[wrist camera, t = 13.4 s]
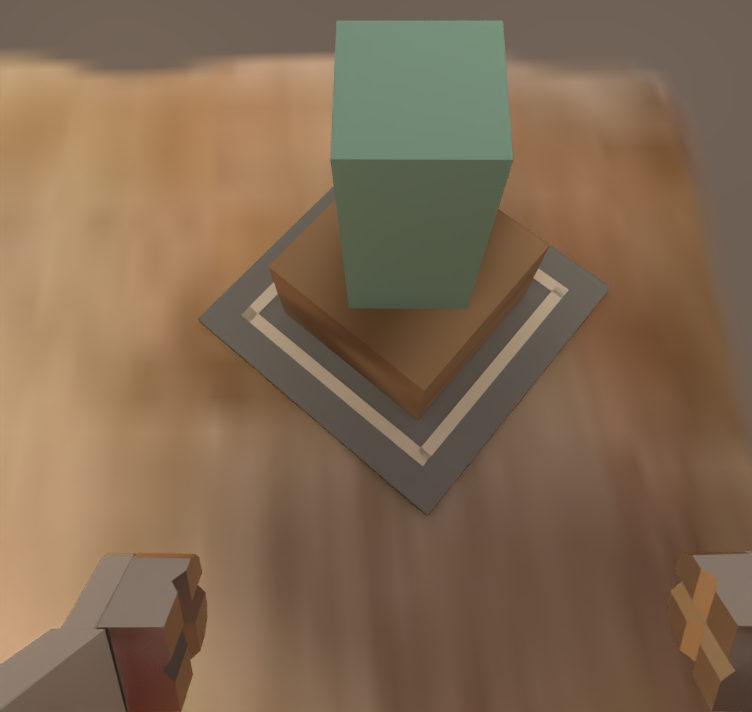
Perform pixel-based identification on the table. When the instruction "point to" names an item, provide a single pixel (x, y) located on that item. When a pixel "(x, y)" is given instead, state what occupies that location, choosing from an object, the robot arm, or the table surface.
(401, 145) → the pillar
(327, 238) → the base block
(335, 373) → the board
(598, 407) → the table surface
